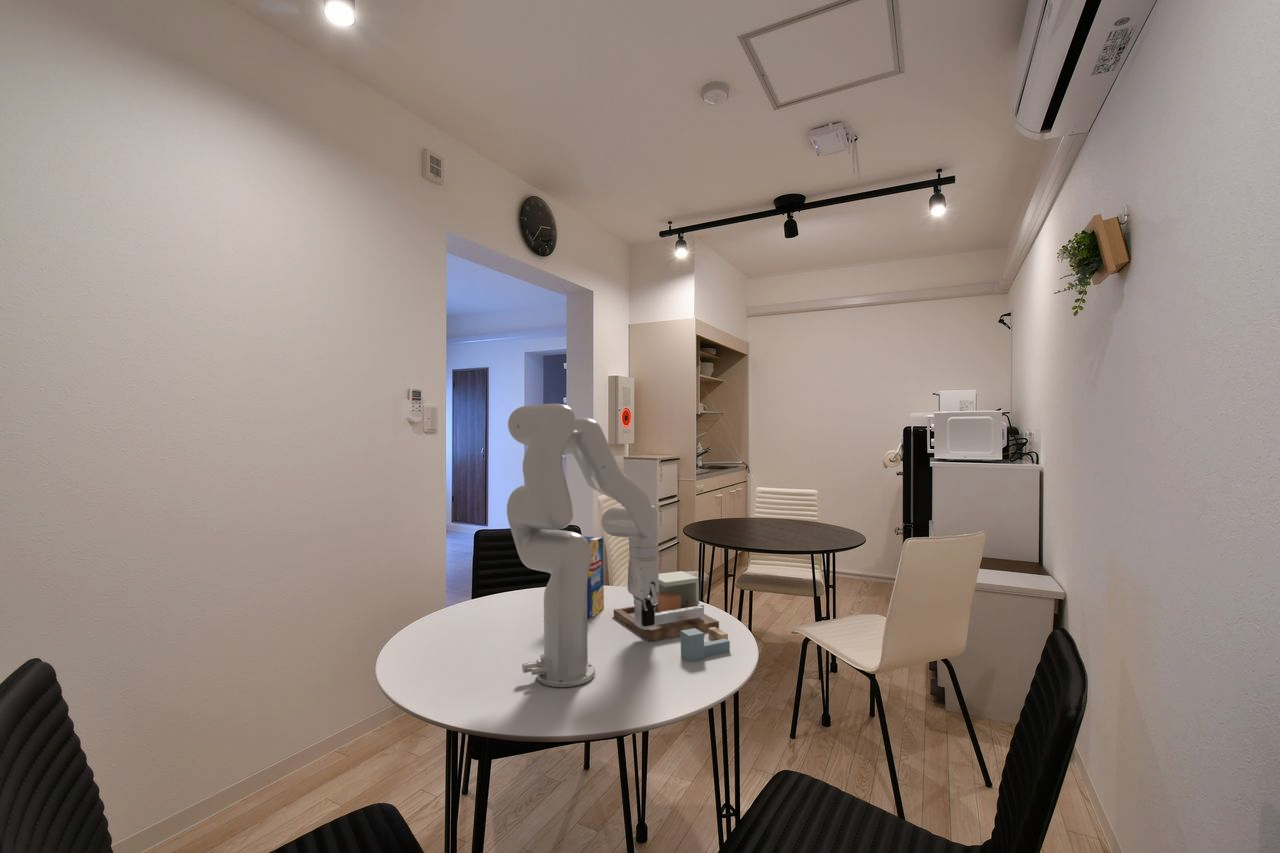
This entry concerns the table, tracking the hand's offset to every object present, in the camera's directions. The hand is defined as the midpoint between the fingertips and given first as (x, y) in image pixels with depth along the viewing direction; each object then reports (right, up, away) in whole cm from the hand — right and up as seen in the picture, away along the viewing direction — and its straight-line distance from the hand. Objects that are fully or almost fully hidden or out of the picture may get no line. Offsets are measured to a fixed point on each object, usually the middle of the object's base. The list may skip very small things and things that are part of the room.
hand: (644, 622), depth 145 cm
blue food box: (-17, -5, +23) cm, 29 cm away
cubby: (+9, -3, +18) cm, 20 cm away
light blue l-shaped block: (+15, -4, -11) cm, 19 cm away
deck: (+6, -5, +13) cm, 15 cm away
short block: (+19, -4, -2) cm, 19 cm away
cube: (+7, -3, +16) cm, 18 cm away
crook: (+6, -1, +6) cm, 9 cm away
